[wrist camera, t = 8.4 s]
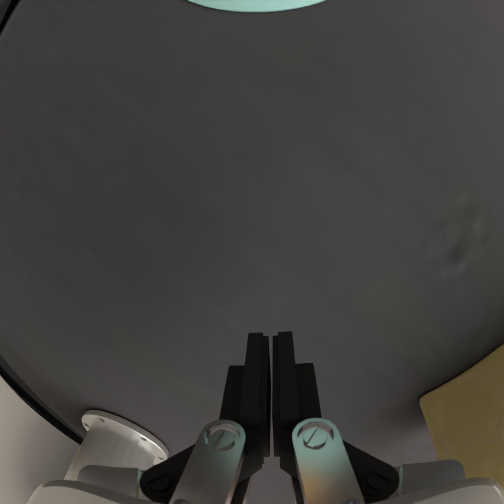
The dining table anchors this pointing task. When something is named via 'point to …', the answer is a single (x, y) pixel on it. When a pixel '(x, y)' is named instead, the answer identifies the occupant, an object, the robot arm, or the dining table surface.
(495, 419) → the cheese
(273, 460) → the dining table surface
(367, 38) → the dining table surface
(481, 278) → the dining table surface
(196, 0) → the disc
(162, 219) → the dining table surface
